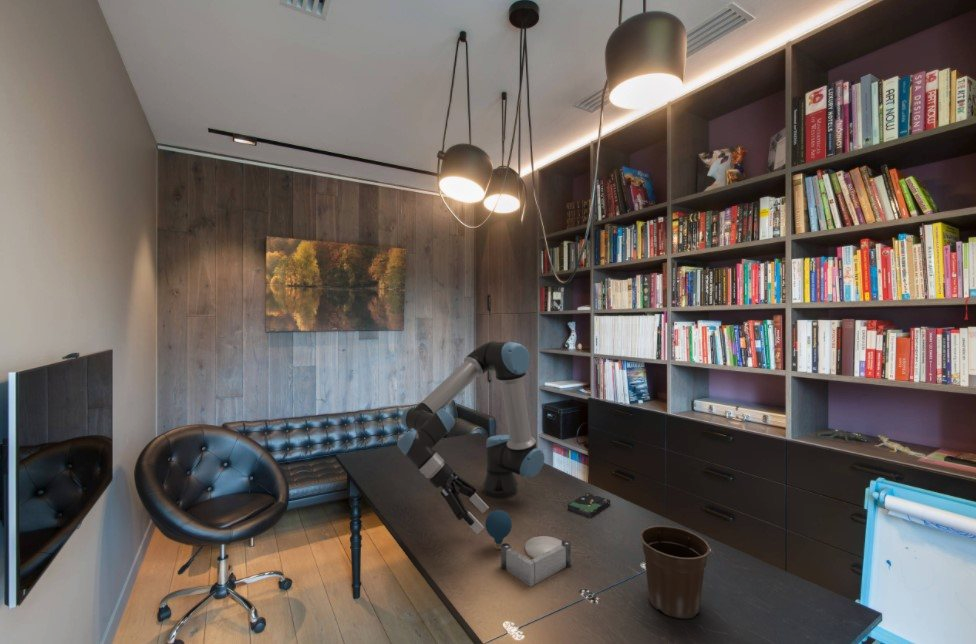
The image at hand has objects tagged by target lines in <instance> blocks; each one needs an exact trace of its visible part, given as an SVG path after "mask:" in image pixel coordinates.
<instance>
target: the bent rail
mask: <svg viewBox="0 0 976 644" xmlns="http://www.w3.org/2000/svg"><path fill="white" fill-rule="evenodd" d="M561 541H562V544H561V545H559V546H557V547H555V548H553V549H551V550H549V551H547V552H546V553H544V554H542V555H540V556H538V557H536V558H534V559H533V558H531V559H529V558H527V557H526V556H525V555H523V554H521V553H520V552H518V551H516V550H514V549H513V548H511V545H510V543H506V542H505V543H503V542H502V544H501V548H500V569H502V570H503V571H507V572H508V573H509V574H511V575H512V576H514V577H515V578H517V579H518V580H519V581H521V582H523V583H524V584H525V585H527V586H528V587H530V588H531V587H533V586H535V585H536V584H538V583H540V582H542V581H544V580H546V579H547V578H548V577H550V576H552V575H555V574H556V573H558V572H559V571H560V570H563V569H565V568H569V567H571V566H572V542H571V541H570V540H568V539H566V540H565V539H564V540H561Z"/></svg>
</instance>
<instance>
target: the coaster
mask: <svg viewBox="0 0 976 644" xmlns="http://www.w3.org/2000/svg"><path fill="white" fill-rule="evenodd" d="M562 541H563V540H560V539H558V538H556V537H553V536H546V535H541V536H540V535H539V536H534V537H532V538H530V539H529V538H528V540H527V541H526V542H525V543H524V550H525V553H526V555H528V556H529V557H530V558H531V559H534V558H536V557H538V556H540V555H542V554H544V553H546V552H547V551H549V550H551V549H553V548H555V547H557V546H559V545H561V544H562Z"/></svg>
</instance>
